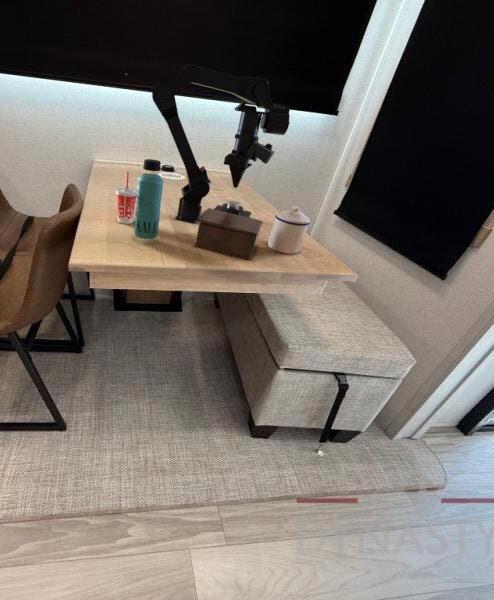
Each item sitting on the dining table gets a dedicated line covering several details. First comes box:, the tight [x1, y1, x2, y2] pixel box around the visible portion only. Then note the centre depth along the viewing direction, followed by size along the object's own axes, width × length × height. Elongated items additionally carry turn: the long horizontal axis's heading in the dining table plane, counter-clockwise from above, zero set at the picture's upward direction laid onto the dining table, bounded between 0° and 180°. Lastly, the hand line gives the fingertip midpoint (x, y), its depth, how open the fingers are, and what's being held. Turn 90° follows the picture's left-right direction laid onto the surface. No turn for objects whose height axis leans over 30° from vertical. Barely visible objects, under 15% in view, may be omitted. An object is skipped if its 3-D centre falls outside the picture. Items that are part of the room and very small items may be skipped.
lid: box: [196, 207, 263, 236], centre depth 86 cm, size 15×12×1 cm
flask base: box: [213, 202, 252, 218], centre depth 111 cm, size 12×10×4 cm
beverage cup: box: [115, 171, 137, 225], centre depth 94 cm, size 6×6×14 cm
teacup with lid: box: [267, 205, 311, 255], centre depth 91 cm, size 12×9×12 cm
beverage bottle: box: [133, 158, 164, 240], centre depth 81 cm, size 6×7×20 cm
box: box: [195, 222, 263, 261], centre depth 88 cm, size 15×12×6 cm
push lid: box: [227, 200, 241, 209], centre depth 109 cm, size 4×4×2 cm
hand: (235, 187), depth 101 cm, fingers closed
